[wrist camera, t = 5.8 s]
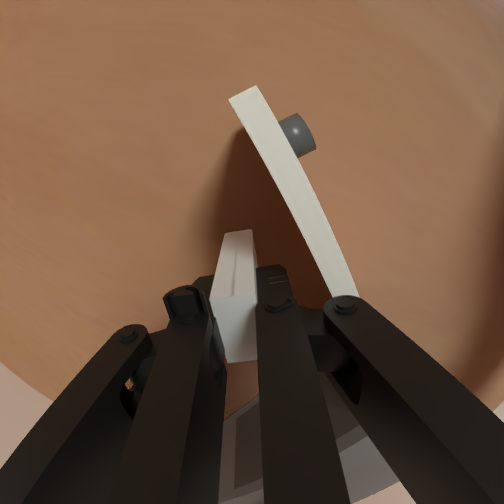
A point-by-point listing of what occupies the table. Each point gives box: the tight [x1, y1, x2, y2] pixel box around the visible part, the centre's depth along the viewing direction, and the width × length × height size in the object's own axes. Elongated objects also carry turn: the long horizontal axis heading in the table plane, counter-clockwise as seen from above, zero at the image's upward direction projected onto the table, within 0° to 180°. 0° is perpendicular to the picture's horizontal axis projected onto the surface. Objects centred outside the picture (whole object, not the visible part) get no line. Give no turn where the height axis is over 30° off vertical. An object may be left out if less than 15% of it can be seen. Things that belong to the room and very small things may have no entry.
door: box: [228, 85, 360, 298], centre depth 12 cm, size 14×2×8 cm, turn 29°
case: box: [218, 372, 400, 504], centre depth 18 cm, size 20×12×10 cm, turn 144°
